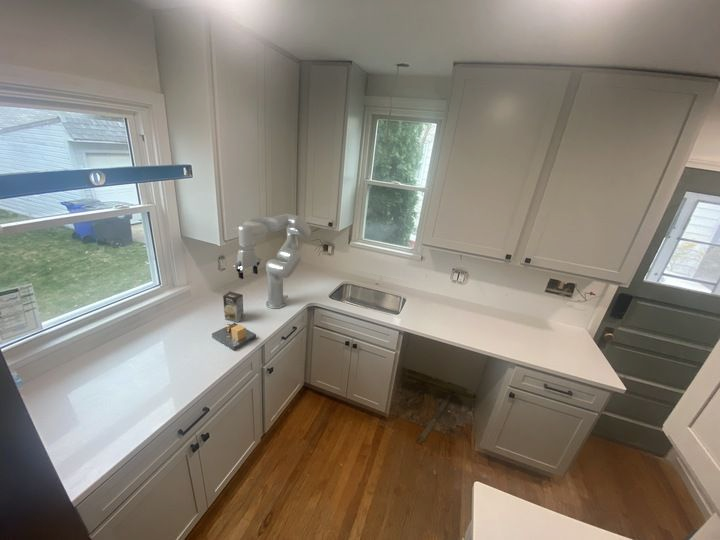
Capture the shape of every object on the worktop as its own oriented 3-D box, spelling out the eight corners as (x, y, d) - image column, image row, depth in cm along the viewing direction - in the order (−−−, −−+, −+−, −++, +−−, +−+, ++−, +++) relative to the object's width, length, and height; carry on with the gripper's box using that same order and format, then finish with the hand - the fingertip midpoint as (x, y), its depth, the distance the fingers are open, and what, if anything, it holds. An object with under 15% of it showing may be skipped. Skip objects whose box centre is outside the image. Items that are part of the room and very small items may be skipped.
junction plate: (234, 326, 167) (234, 316, 165) (256, 338, 159) (255, 328, 156) (212, 337, 156) (210, 327, 153) (233, 350, 147) (232, 340, 145)
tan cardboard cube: (240, 332, 158) (239, 324, 156) (246, 336, 155) (245, 327, 153) (231, 337, 154) (231, 328, 152) (237, 340, 151) (237, 331, 149)
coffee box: (224, 319, 172) (222, 295, 167) (231, 314, 178) (229, 291, 172) (237, 323, 170) (235, 298, 164) (244, 317, 176) (243, 294, 170)
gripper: (255, 242, 168) (256, 270, 174) (228, 249, 154) (230, 278, 160) (264, 245, 164) (265, 273, 171) (237, 252, 150) (239, 282, 157)
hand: (248, 275), depth 166 cm, fingers open, 9 cm apart
